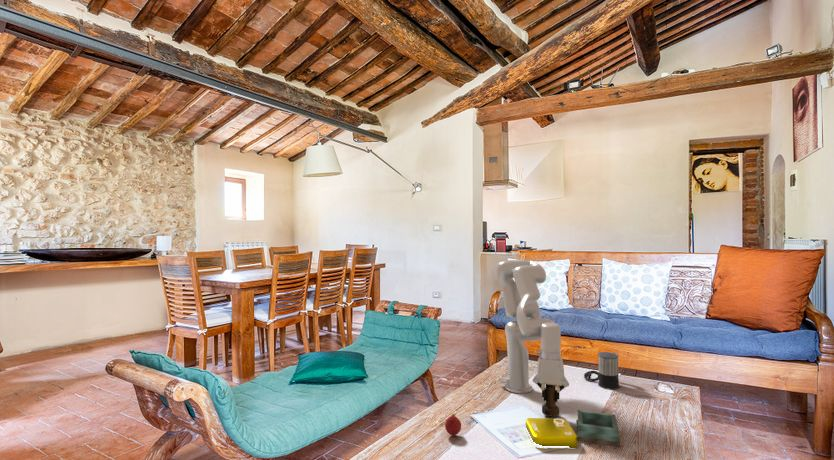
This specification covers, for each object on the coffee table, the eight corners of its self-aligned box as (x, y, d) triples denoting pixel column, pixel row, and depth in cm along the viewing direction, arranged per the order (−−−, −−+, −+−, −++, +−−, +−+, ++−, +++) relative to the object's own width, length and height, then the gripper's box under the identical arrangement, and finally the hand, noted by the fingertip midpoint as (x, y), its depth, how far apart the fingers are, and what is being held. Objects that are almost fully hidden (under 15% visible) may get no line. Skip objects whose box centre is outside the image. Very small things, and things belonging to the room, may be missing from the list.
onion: (456, 441, 148) (456, 418, 148) (442, 437, 151) (442, 415, 151) (464, 434, 153) (463, 412, 153) (449, 430, 156) (449, 409, 156)
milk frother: (619, 391, 191) (619, 358, 191) (582, 386, 198) (582, 354, 198) (619, 380, 204) (618, 350, 204) (584, 376, 211) (584, 346, 211)
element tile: (524, 429, 157) (524, 416, 157) (565, 429, 157) (564, 416, 157) (534, 450, 142) (534, 436, 142) (579, 450, 142) (579, 436, 142)
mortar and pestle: (557, 409, 170) (557, 365, 169) (561, 417, 163) (561, 371, 163) (540, 409, 170) (540, 365, 170) (543, 416, 164) (543, 370, 164)
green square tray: (576, 441, 147) (576, 425, 147) (576, 423, 160) (576, 409, 160) (621, 447, 142) (620, 431, 142) (616, 429, 155) (616, 414, 155)
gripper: (528, 355, 166) (528, 401, 166) (573, 359, 160) (573, 407, 160) (529, 349, 173) (529, 393, 173) (573, 353, 167) (573, 399, 167)
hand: (550, 399), depth 167 cm, fingers closed on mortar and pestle, 3 cm apart
